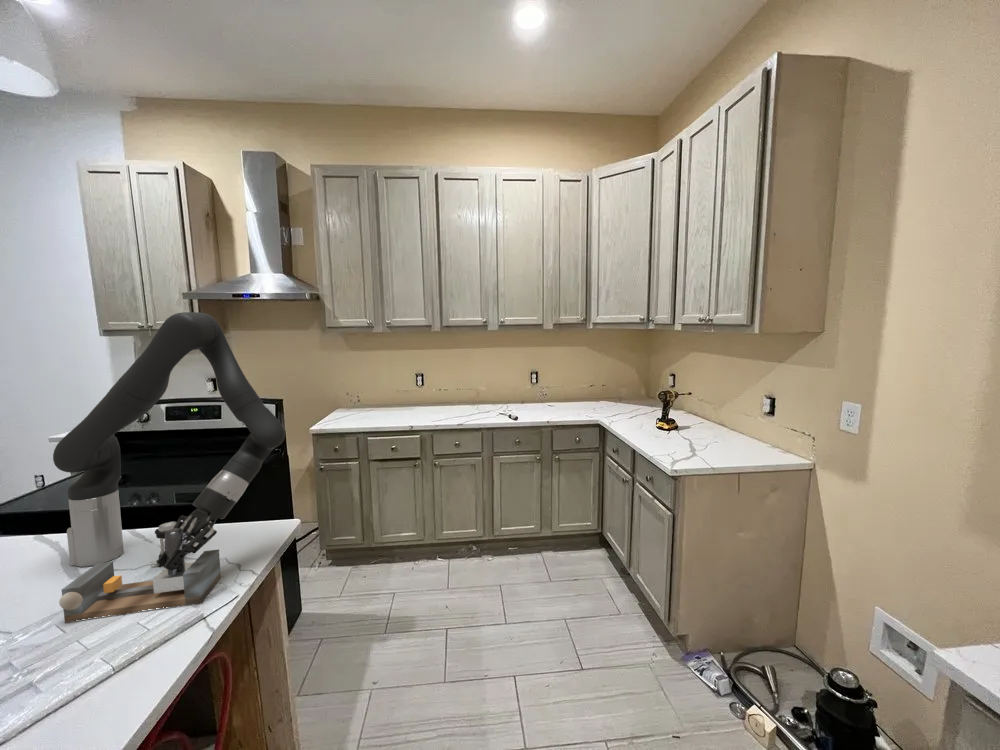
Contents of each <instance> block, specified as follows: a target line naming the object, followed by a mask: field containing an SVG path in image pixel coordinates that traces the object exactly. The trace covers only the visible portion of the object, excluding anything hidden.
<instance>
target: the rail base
mask: <svg viewBox="0 0 1000 750" xmlns="http://www.w3.org/2000/svg"><path fill="white" fill-rule="evenodd" d="M220 558H221V557H220V548H219V549H210V550H204V551H203V552H202V553H201V554H200V555H199V556H198V557H197V558H196V559H195V561H194V563H193V564H192V565H191V566H190V567H189V568H188V569H187V570H186V571H185V572H184V574H183V581H184V590H177V591H169V592H162V593H155V594H154V588H153V580H146V581H145V580H144V581H138V582H131V583H122V585H121V586H120V587H118V588H117V589H116V590H115V591H114V592H110V593H104V587H103V584H104V583H105V582H107V581H108V580H109V579H110V578H111V577H113V576H115V569H114V562H113V561H107V562H104V563H99V564H96V565H93V566H91V567H90V568H89V569H87V570H86V571H85V572H84V573H82V574H80V575H79V576H78V577H77V578H75V579H73V581H71V582H70V583H68V584H67V585H66V586H64V587H63V588H61V596H60V598H59V602H58V603H59V606H60V607H61V609H63V616H64V623H65V622H68V623H72V622H71V621H75V622H77V621H76V620H82V619H88V618H94V617H102V616H108V615H117V616H119V615H118V614H124V615H128V614H127V613H131V614H134V613H133V612H138V611H142V610H148V609H156V608H163V607H164V608H166V607H173V606H180V607H183V606H182V605H187V606H193V604H194V605H200V603H201V604H202V603H203V602H204V601H205V600H206V598H207V597H208V596H207V595H209V594H210V593H211V592H212V591H213V589H214V588H215V586H216V585H217V584H218V582H219V581H220V580H221V578H222V574H221V572H222V571H221V559H220ZM210 591H211V592H210ZM209 592H210V593H209ZM206 596H207V597H206ZM204 599H205V600H204ZM173 608H174V607H173ZM166 609H167V608H166ZM138 613H139V612H138ZM82 621H83V620H82Z"/></svg>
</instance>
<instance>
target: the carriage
mask: <svg viewBox="0 0 1000 750" xmlns="http://www.w3.org/2000/svg"><path fill="white" fill-rule="evenodd" d="M164 541H165V542H164V545H165V544H166V557H167V561H168V560H169V558H170V557H171V556H172V555H173V553H174V552H175V551H176V550H178V547H179V546H180V544H181V543H182V541H183V536H182V529H181V528H175V529H171V530H168V531H166V532H165V539H164ZM194 562H195V561H194ZM194 562H186V563H185V557H184V558H183V560H182V561H181V562H180V563H179V565H178V566H177V567H176V569H175V570H173V571H171V570H168V569H166V568H163V570H162V571H161V572H159V573H158V574H157V575H156V576H155V578H153V579H152V581H153V588H154V594H155V593H162V592H169V591H177V590H184V581H183V574H184V572H185V571H186V570H187V569H188V568H189V567H190V566H191V565H192V564H193V563H194Z"/></svg>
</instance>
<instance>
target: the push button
mask: <svg viewBox="0 0 1000 750" xmlns="http://www.w3.org/2000/svg"><path fill="white" fill-rule="evenodd" d="M176 523H177V521H168V522H164V523H162V524H160V525H158V528H156V529H155V530H154V534H155V536H156V538H157V539H159V541H160V551H159V554H158V558H157V559H156V560H152V561H150V562H149V564H151V565H150V566H149V567H151V568H152V567H154V566H155V567H156V566H159V567H160V568H162V567H164V566H163V565H160V564H158V563H157V560H158V559H159V557H160V556H161V555H162V554H163V553H164V551H165V550H166V544H165V532H166V531H168V530H171V529H173V528H174V526H175V524H176ZM153 563H154V564H153ZM161 566H162V567H161Z"/></svg>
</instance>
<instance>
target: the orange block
mask: <svg viewBox="0 0 1000 750" xmlns="http://www.w3.org/2000/svg"><path fill="white" fill-rule="evenodd" d="M122 584H123V577H122V574H121V575H114V576H113V577H111V578H110V579H109V580H108V581H107V582H105V583H104V584H103V587H104V593H110V592H114V591H115V590H116V589H117V588H118V587H120V586H121V585H122Z"/></svg>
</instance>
